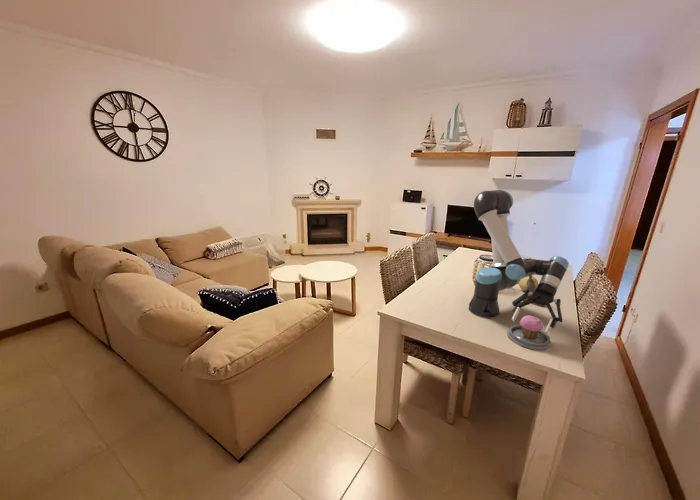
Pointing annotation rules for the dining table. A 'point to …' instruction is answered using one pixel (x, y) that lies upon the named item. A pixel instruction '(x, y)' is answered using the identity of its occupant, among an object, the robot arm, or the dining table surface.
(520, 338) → the slate plate
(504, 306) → the dining table surface
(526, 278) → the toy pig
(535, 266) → the robot arm
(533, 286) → the worn brown figurine
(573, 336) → the dining table surface
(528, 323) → the cupcake
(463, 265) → the dining table surface
